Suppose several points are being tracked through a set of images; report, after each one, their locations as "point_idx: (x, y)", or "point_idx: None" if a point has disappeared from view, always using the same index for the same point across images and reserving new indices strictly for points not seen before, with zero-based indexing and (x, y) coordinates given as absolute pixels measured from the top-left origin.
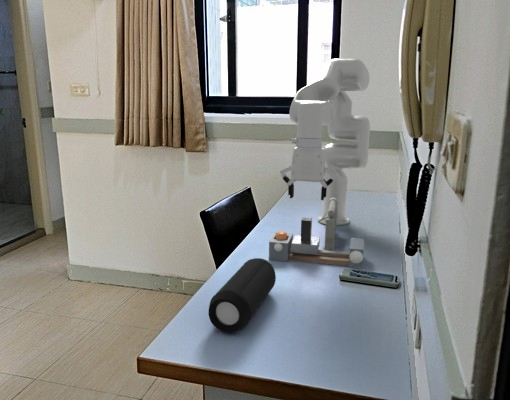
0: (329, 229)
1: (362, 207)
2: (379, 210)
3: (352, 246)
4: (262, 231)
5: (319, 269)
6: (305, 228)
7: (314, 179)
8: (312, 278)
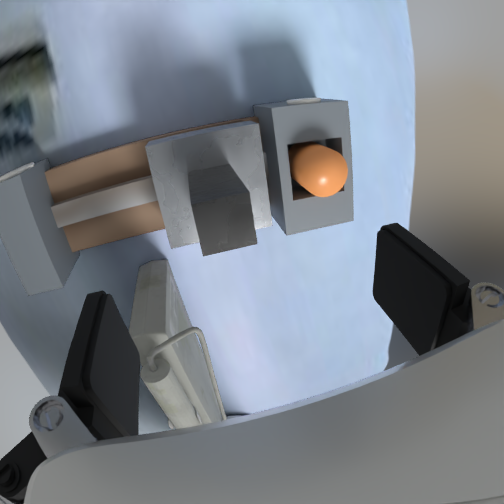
0: (149, 306)
1: None
2: None
3: (20, 202)
4: (381, 308)
5: (124, 86)
6: (216, 183)
7: (157, 465)
8: (127, 9)
